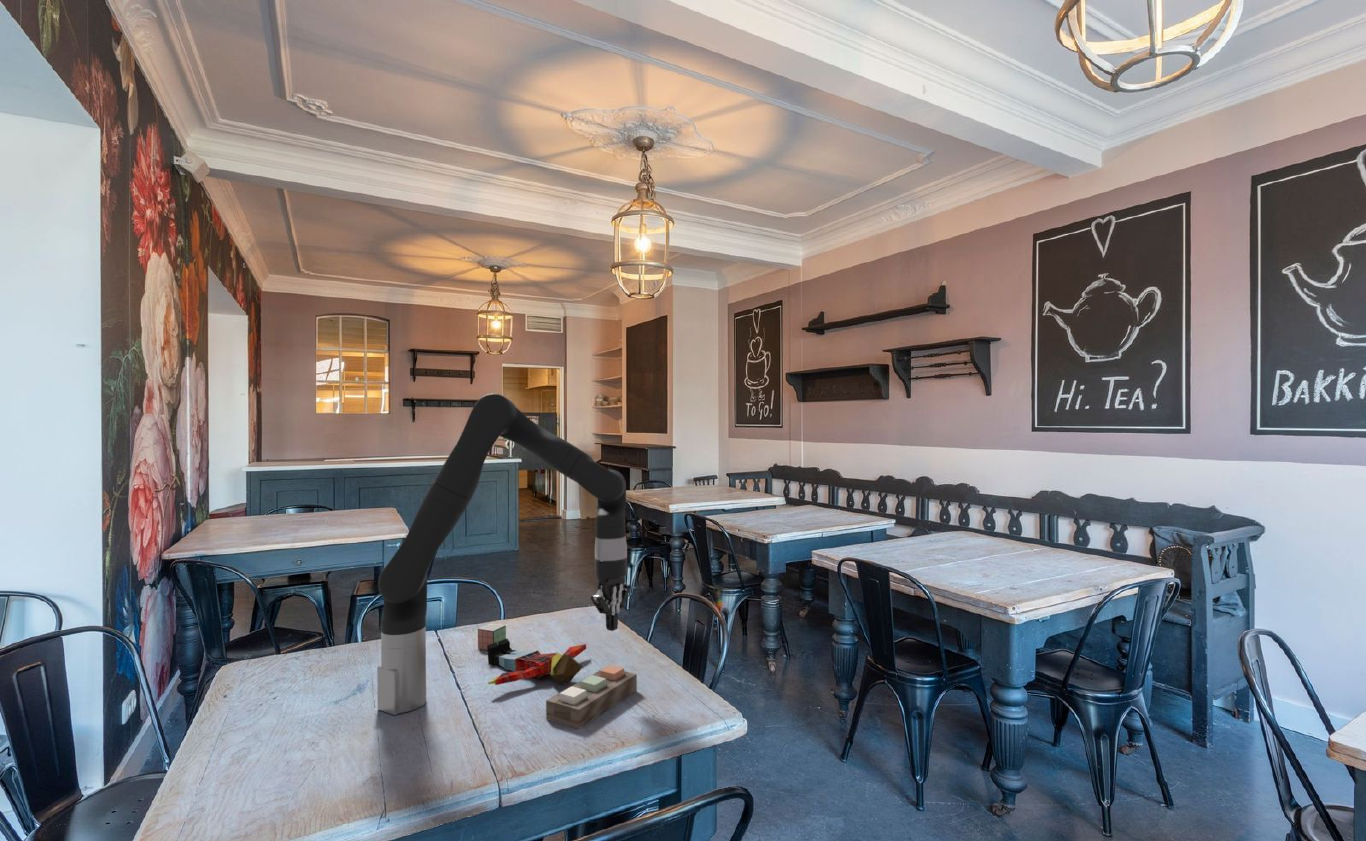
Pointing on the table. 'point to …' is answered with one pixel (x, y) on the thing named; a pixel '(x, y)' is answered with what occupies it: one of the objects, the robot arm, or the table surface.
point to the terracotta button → (612, 672)
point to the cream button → (573, 695)
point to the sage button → (593, 683)
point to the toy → (533, 663)
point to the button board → (591, 701)
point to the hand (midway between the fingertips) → (612, 629)
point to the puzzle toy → (490, 635)
